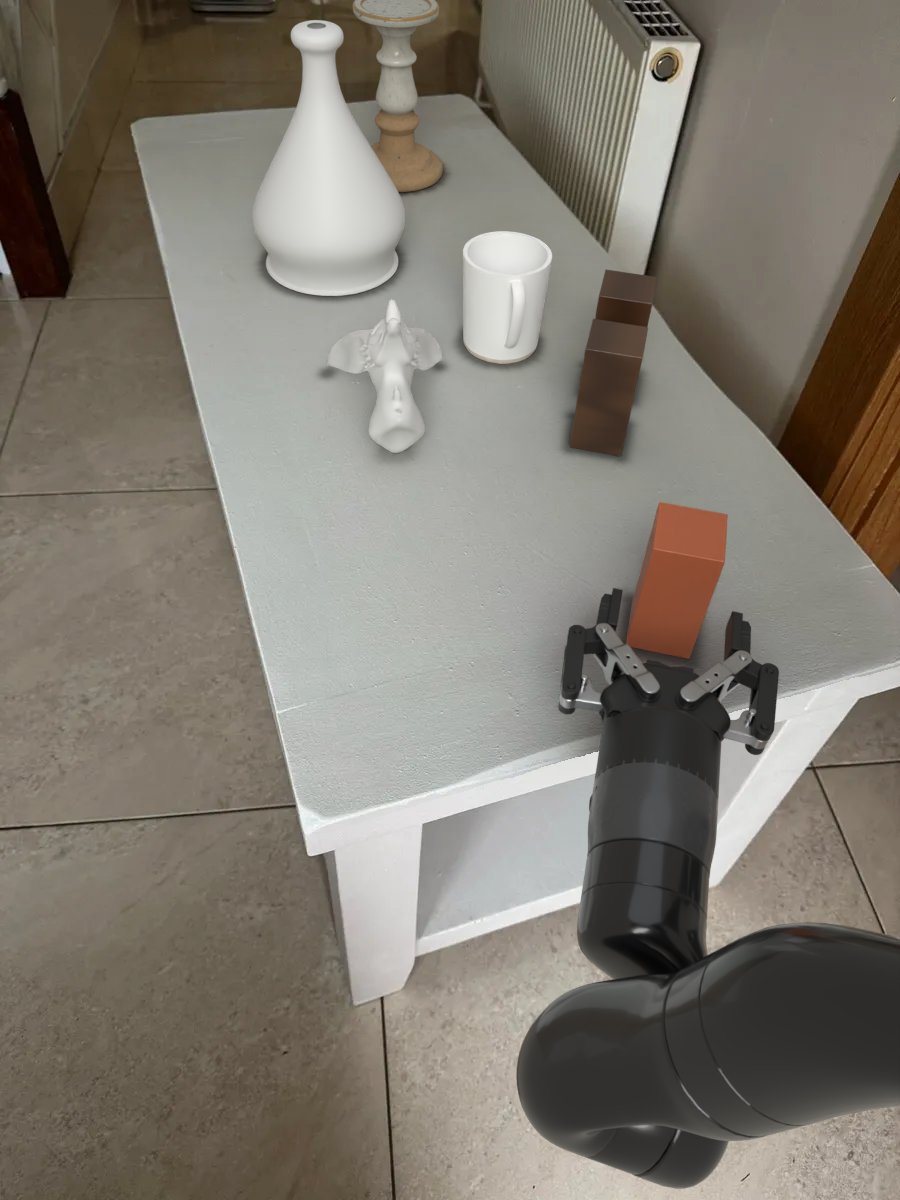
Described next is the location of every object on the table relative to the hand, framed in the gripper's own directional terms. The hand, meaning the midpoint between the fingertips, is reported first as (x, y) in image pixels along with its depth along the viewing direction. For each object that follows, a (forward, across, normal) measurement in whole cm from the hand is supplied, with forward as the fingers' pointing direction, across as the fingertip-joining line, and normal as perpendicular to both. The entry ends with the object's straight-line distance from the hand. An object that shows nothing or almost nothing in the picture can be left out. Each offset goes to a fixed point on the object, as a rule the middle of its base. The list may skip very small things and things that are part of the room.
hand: (674, 607), depth 67 cm
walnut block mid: (+26, +8, +6) cm, 28 cm away
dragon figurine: (+24, +28, +7) cm, 37 cm away
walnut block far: (+35, +8, +6) cm, 37 cm away
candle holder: (+76, +42, +7) cm, 87 cm away
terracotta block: (+3, 0, +6) cm, 7 cm away
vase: (+50, +43, +7) cm, 67 cm away
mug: (+38, +20, +7) cm, 44 cm away
